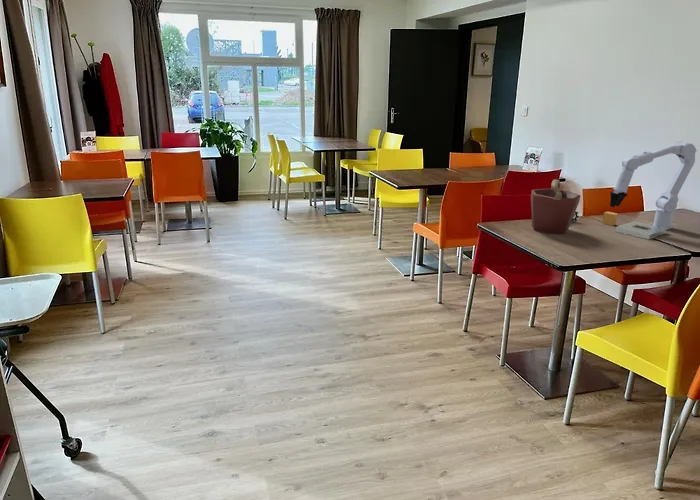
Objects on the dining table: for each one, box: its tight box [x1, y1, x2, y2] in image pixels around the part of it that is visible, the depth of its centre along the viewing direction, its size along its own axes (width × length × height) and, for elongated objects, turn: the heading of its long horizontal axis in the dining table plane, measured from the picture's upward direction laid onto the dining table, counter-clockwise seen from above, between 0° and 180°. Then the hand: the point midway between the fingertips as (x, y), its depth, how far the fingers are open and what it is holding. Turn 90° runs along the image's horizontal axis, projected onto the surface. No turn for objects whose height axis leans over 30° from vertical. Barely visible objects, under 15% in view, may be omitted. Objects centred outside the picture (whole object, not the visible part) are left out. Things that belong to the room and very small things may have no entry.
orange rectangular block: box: [601, 211, 619, 227], centre depth 267 cm, size 4×6×6 cm
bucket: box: [530, 179, 581, 235], centre depth 250 cm, size 24×22×25 cm
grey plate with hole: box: [615, 220, 668, 240], centre depth 254 cm, size 20×16×2 cm
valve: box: [571, 211, 580, 222], centre depth 268 cm, size 7×7×12 cm
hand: (614, 206), depth 263 cm, fingers open, 7 cm apart
